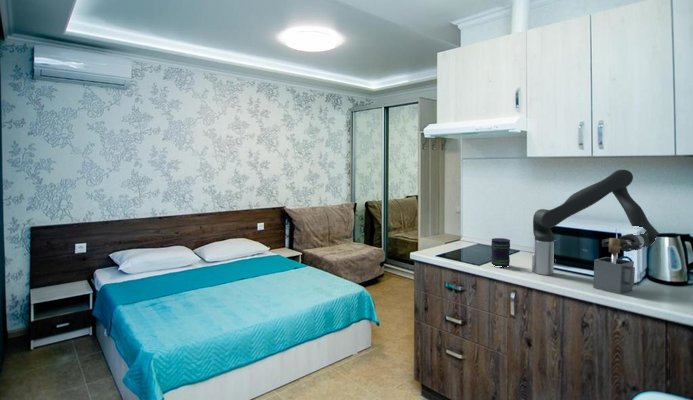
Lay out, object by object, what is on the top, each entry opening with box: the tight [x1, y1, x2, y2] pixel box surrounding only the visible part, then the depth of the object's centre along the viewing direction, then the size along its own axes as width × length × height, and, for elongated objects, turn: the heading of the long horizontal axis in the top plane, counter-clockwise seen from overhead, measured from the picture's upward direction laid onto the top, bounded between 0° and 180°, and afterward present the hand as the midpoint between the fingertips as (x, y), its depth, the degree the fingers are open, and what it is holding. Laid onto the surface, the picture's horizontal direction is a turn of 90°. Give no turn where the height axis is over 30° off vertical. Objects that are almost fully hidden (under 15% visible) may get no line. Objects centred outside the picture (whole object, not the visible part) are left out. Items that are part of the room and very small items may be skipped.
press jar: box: [592, 256, 636, 295], centre depth 175 cm, size 14×11×13 cm
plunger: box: [608, 237, 621, 263], centre depth 176 cm, size 9×9×22 cm
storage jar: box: [490, 237, 511, 267], centre depth 220 cm, size 10×10×15 cm
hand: (613, 245), depth 175 cm, fingers open, 8 cm apart
